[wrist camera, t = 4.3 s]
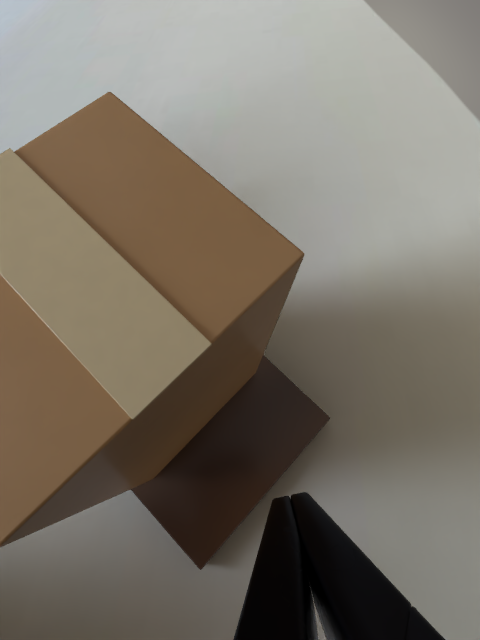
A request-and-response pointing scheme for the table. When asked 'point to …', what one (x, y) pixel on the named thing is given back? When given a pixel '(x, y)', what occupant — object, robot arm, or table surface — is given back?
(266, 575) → the robot arm
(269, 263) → the carton
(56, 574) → the table surface
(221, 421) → the ramp
